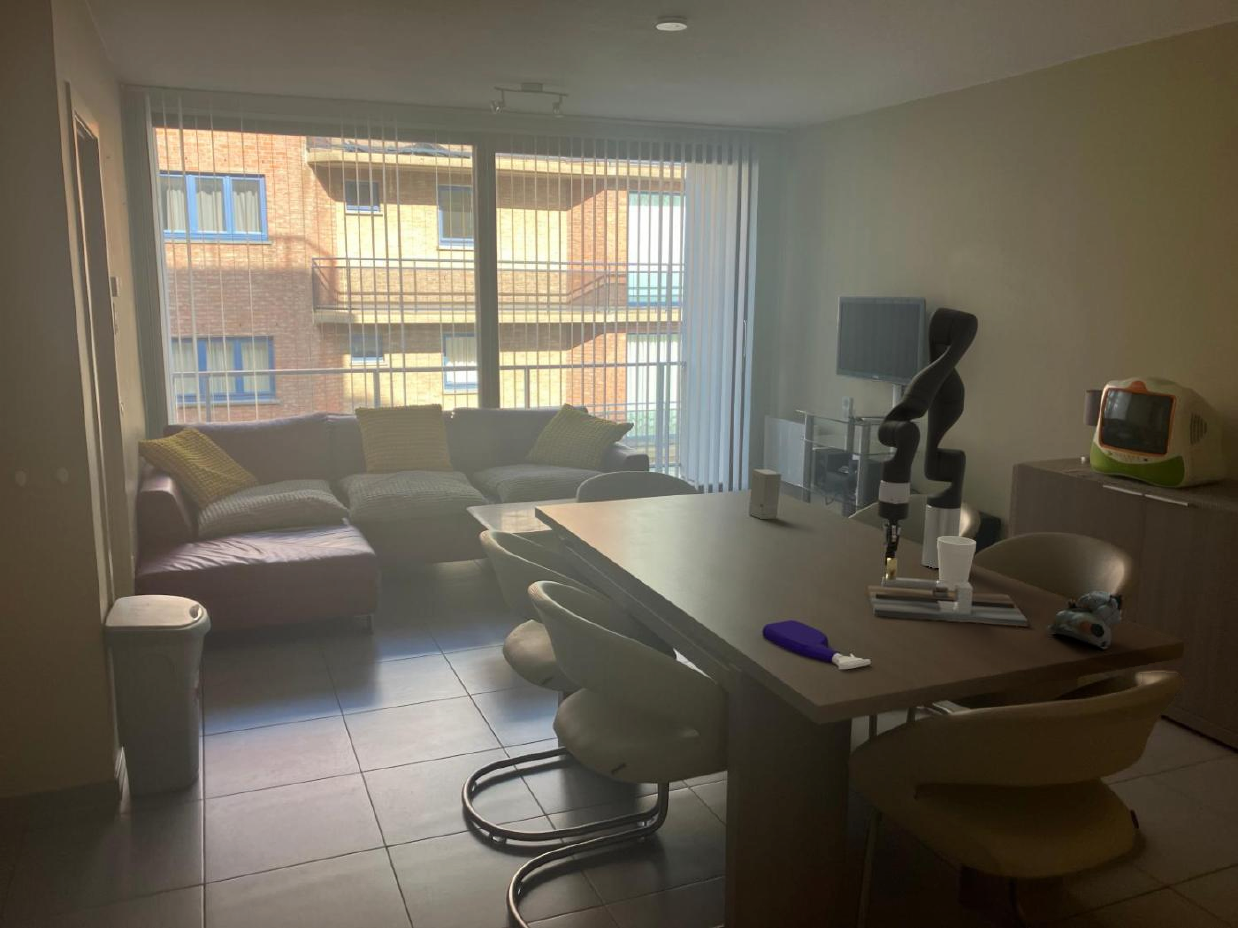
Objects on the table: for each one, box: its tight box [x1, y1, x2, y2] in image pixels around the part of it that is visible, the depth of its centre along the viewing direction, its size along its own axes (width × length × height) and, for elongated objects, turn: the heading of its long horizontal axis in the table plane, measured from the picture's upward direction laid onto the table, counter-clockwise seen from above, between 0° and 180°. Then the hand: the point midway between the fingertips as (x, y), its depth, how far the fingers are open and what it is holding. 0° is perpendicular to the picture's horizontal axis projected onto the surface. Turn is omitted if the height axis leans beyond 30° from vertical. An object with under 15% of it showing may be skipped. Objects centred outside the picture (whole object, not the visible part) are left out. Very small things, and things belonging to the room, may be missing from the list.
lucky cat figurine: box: [1046, 590, 1123, 648], centre depth 218 cm, size 15×12×14 cm
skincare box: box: [748, 468, 782, 520], centre depth 337 cm, size 8×7×16 cm
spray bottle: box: [762, 619, 871, 670], centre depth 208 cm, size 3×11×24 cm
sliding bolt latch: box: [867, 584, 1028, 626], centre depth 240 cm, size 21×34×3 cm, turn 81°
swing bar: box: [881, 557, 949, 592], centre depth 245 cm, size 16×4×7 cm, turn 81°
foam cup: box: [937, 536, 977, 591], centre depth 255 cm, size 10×9×13 cm
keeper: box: [937, 581, 974, 615], centre depth 233 cm, size 6×7×6 cm
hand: (889, 565), depth 252 cm, fingers closed
